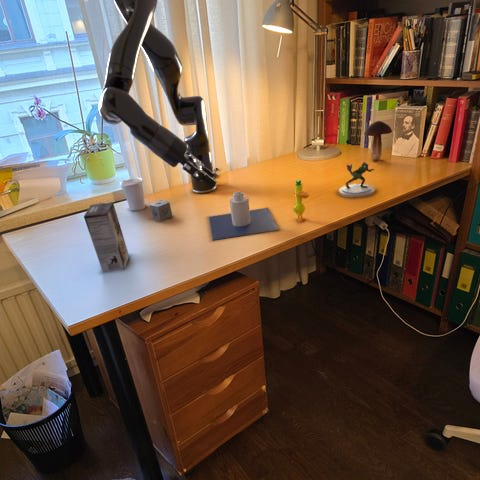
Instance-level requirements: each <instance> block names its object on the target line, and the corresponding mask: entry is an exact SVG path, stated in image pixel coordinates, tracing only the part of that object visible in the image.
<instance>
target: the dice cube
mask: <svg viewBox="0 0 480 480" xmlns="http://www.w3.org/2000/svg"><path fill="white" fill-rule="evenodd" d="M148 205H149V210H150V213H151V218H152V219H153V220H156V221H159V222H162V221H165V220H167V219H169V218H172V217H173V213H172V212H173V211H172V207H171V202H170V201H167V200H162V199H160V200H158V201H155V202H152V203H150V204H148Z"/></svg>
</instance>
